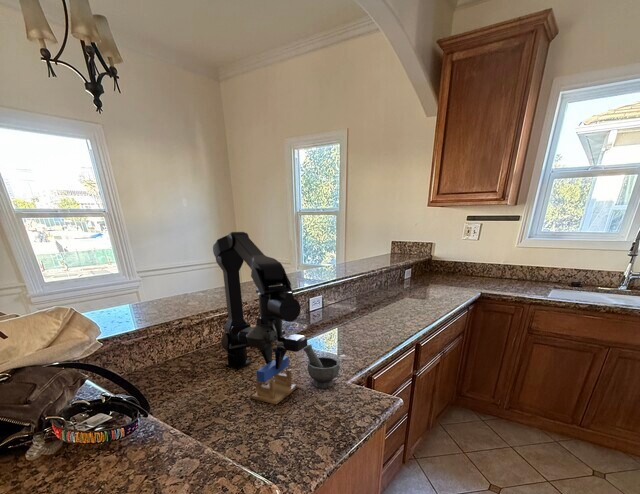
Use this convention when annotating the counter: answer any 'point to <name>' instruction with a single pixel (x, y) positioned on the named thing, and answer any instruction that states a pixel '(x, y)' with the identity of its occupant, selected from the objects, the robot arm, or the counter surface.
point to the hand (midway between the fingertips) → (273, 368)
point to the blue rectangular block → (271, 370)
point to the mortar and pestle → (321, 368)
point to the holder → (275, 388)
